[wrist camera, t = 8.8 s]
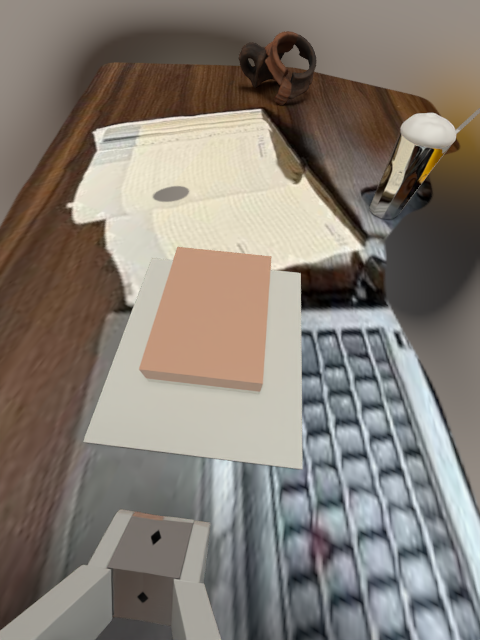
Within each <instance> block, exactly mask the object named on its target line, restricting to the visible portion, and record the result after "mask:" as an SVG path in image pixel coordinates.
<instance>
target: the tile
mask: <svg viewBox="0 0 480 640" xmlns="http://www.w3.org/2000/svg"><path fill="white" fill-rule="evenodd" d="M270 269H271V256H262V255H252V254H242V253H232V252H222V251H212V250H203V249H193V248H183V247H177V250H176V253H175V256H174V260H173V263H172V266H171V269H170V272H169V275H168V279H167V282H166V285H165V288H164V291H163V294H162V298H161V301H160V304H159V307H158V310H157V313H156V317H155V320H154V323H153V326H152V329H151V332H150V335H149V339H148V342H147V345H146V348H145V351H144V354H143V358H142V361H141V364H140V367H139V370H140V371H141V373H142V374H143V375H144V376H145V378H146V379H147V380H148V381H151V382H160V383H168V384H177V385H185V386H194V387H203V388H211V389H220V390H228V391H237V392H245V393H254V394H260V391H261V388H262V385H263V374H264V359H265V344H266V329H267V314H268V299H269V284H270Z"/></svg>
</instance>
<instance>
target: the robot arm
mask: <svg viewBox="0 0 480 640" xmlns="http://www.w3.org/2000/svg"><path fill="white" fill-rule="evenodd" d="M209 535H210V523H209V522H202V521H195V520H191V519H183V518H176V517H168V516H165V517H162V516H157V515H151V514H146V513H140V512H135V511H128V510H122V509H120V510H119V511H118V512H117V513H116V514H115V516H114V518H113V520H112V521H111V523H110V525H109V527H108V529H107V530H106V532H105V534H104V536H103V538H102V539H101V541H100V543H99V545H98V547H97V548H96V550H95V552H94V554H93V556H92V557H91V559H90V561H89V563H88V565H81V566H80V567H79V568H77V569H76V570H75V571H74V572H72V573H71V574H70V575H69V576H67V577H66V578H65V579H64V580H63V581H61V582H60V583H59V584H58V585H56V586H55V587H54V588H53V589H51V590H50V591H49V592H48V593H46V594H45V595H44V596H43V597H41V598H40V599H39V600H38V601H36V602H35V603H34V604H33V605H31V606H30V607H29V608H28V609H26V610H25V611H24V612H23V613H21V614H20V615H19V616H18V617H17V618H15V619H14V620H13V621H12V622H10V623H9V624H8V625H7V626H5V627H4V628H3V629H2V630H0V640H95V639H96V638H97V637H98V636H99V635H100V633H101V632H102V631H103V630H104V629H105V627H106V626H107V625H108V624H109V623H110V622H111V620H112V617H117V618H125V619H133V620H141V621H147V622H152V623H156V624H161V625H166V626H171V630H172V636H173V640H221V637H220V633H219V630H218V627H217V624H216V620H215V617H214V614H213V611H212V607H211V604H210V601H209V598H208V594H207V591H206V588H205V584H203V582H204V576H205V570H206V562H207V554H208V545H209Z"/></svg>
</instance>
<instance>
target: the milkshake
mask: <svg viewBox="0 0 480 640" xmlns="http://www.w3.org/2000/svg"><path fill="white" fill-rule="evenodd" d="M479 113H480V108H479V109H478V110H477V111H476V112H475V113H474V114H473V115H472V116H470V117H469V118H468V119H467V120H466V121H465V122H464V123H463V124H462V125H461V126H460V127H459V128H457V129H456V130H455V128H454V126H453V125H452V124H451V123H450V122H449V121H448V120H447V119H445V118H442V117H440V116H439V115H437V114H435V113H424V114H415V115H413V116H411V117H410V118H409V119H407V120H406V121H405V122H404V123H403V124H402V126H401V129H400V131H399V134H398V136H397V139H396V141H395V144H394V147H393V149H392V152H391V154H390V157H389V161H388V163H387V166H386V168H385V170H384V173H383V175H382V178H381V180H380V182H379V185H378V187H377V190H376V192H375V194H374V197H373V199H372V202H371V204H370V207H369V209H370V210H371V212H372V213H373V215H375V216H377V217H379V218H381V219H393V218H395V217H397V216H398V215H399V214H400V212H401V211H402V209H403V208H404V207H405V205H406V204H407V203H408V201H409V200H410V199H411V197H412V196H413V195H414V193H415V192H416V191H417V189H418V188H419V186H420V185H421V184H422V182H423V181H424V180H425V178H426V177H427V176H428V174H429V173H430V172H431V170H432V169H433V168H434V166H435V165H436V164H437V162H438V161H439V160H440V159H441V157H442V156H443V155H444V154H445V152H446V151H447V150H448V148H449V147H450V146H451V145H452V143H453V142H454V141H455V139H456V134H457V133H458V132H459V131H460V130H461V129H462V128H463V127H464V126H465V125H467V124H468V123H469V122H470V121H471V120H472V119H473V118H474V117H475V116H476V115H477V114H479Z"/></svg>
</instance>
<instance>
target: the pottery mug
mask: <svg viewBox="0 0 480 640" xmlns="http://www.w3.org/2000/svg"><path fill="white" fill-rule="evenodd" d="M293 45H296V46H297V48H298V49H299V51H300V54H299V55H300V56H301V57H303V58H305V59H307V60H308V61H309V65H310V66H309V70H307V71H306V72H304V73H295V72H293V74H292V78H291V81H290V80H288V79H286V75H287V74H288V71H289V70H288V69H287V68H286V67H285V66H284V65H283V63H282V62H281V61H280V60H281V58H282V56H283V55H284V53H285V52H289V51H290V50H291V49H292V48H293ZM248 58H251V59H253V60H254V63H255V66H254V67H252V66H251V64H250V63H249V61H248ZM239 60H240V66H241V68H242V71H243V72H244V74H245V75H246V76H247V77H248V78H249V79H250V80H251V82H252V85H253V87H258V86H259V85H260V84H261V83H262V82H263V81H266V80H268V79H273V80H276V81H277V83H278V84H279V85H280V88H279V91H278V94H277V95H276V96H275V102H276V103H278V104H279V105H284V104H285V103H286V102H287V100H288V98H289V99H293V98H294V97H297V96H298V95H300V94H302V93H303V92H305V91H306V90H307V89H308V88H309V85H310V84H311V83H312V80H313V72H314V70H315V67H316V56H315V52H314V50H313V47H312V46H311V45H310V43H309V42H308V41H307V40H306V39H305V38H304V37H302V36H301V35H298V34H296V33H293V32H282V33H280V34H278V35H277V36H276V37H275V38H274V41H273V42H271V43H269V44H268V45H267V46H266V47H265V48H264V47H261V46H259V45H258V44H256V43H248V44H246V45H244V46H243V48H242V50H241V53H240V54H239Z"/></svg>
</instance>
